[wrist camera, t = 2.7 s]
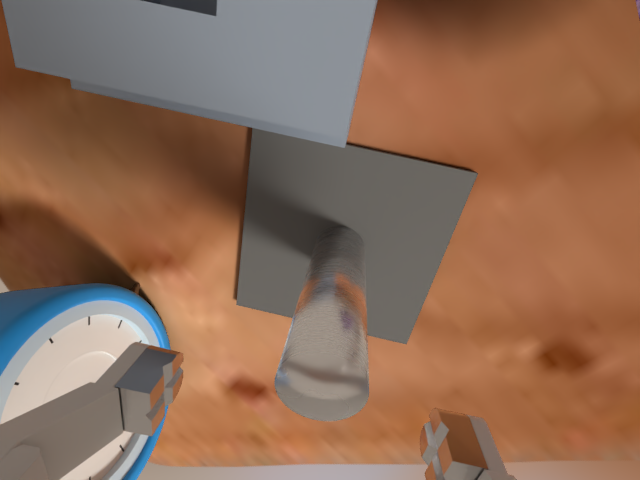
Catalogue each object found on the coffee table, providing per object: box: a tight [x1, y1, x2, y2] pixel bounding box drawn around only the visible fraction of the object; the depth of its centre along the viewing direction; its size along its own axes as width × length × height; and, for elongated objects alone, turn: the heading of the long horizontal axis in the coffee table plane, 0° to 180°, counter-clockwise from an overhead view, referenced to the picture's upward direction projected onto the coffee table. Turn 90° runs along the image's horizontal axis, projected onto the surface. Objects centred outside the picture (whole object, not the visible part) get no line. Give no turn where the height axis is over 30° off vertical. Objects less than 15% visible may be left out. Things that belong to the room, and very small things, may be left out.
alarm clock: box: [0, 283, 171, 480], centre depth 17 cm, size 13×6×15 cm, turn 10°
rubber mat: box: [236, 128, 478, 344], centre depth 19 cm, size 12×12×1 cm
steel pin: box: [275, 226, 369, 421], centre depth 14 cm, size 3×3×10 cm
